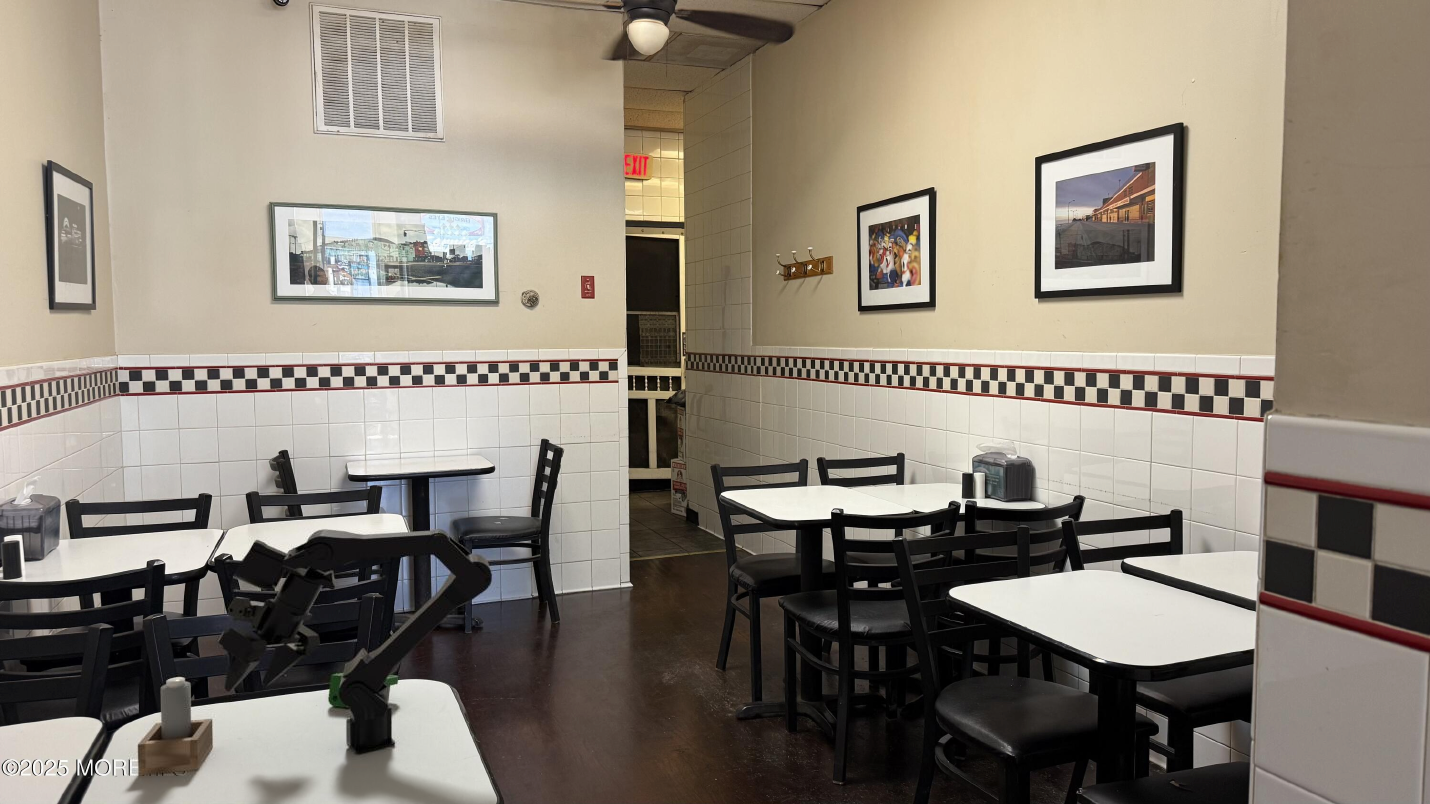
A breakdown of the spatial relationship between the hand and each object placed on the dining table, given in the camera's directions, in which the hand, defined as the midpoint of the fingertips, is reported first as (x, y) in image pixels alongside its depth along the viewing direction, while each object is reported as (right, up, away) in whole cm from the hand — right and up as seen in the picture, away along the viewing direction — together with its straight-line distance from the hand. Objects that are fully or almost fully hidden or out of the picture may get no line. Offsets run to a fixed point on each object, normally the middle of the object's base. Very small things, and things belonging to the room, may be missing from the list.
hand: (246, 687), depth 152 cm
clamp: (+10, -11, +25) cm, 29 cm away
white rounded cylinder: (-11, -11, -1) cm, 15 cm away
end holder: (-11, -12, -1) cm, 16 cm away
